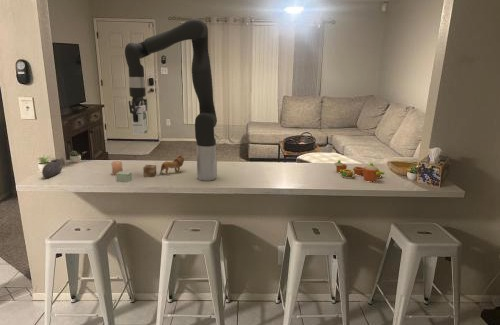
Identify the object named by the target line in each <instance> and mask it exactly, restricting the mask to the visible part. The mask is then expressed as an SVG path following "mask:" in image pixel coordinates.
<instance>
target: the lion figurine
mask: <svg viewBox="0 0 500 325" xmlns="http://www.w3.org/2000/svg"><path fill="white" fill-rule="evenodd" d="M184 162H185V157H184V155H181V154H179V155H177V156H176V157H175V159H174V160H173V161H169V160H168V161H164V162H162V164H161V166H160V172H159V175H163V174H164V173H163V172H164V170H165V173H166V175H168V176H169V175H170V173H169V172H168V171H169V169H174V172H175V173H178V174H180V173H181V171H180V168H181V167H182V166H183V164H184Z"/></svg>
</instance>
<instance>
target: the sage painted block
mask: <svg viewBox="0 0 500 325" xmlns="http://www.w3.org/2000/svg"><path fill="white" fill-rule="evenodd" d="M115 177H116V179H115V180H116V182H122V183H129V182H131V181H132V180H133V172H132V171H124V170H123V171H120V172H118V173H116V175H115Z"/></svg>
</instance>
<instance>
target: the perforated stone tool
mask: <svg viewBox="0 0 500 325" xmlns="http://www.w3.org/2000/svg"><path fill="white" fill-rule="evenodd" d="M62 169H63V165H62V163H61V159H60V158H55V159H54V160H53V159H52V160H51V161H49V162H48V163H46V164H45V165H44V166H43V168H42V172H41V174H42V176H43V177H44V178H46V179H47V178H48V179H49V178H51V177H54V176H57V175H58V174H59V173H60V172H62Z"/></svg>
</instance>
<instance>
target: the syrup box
mask: <svg viewBox="0 0 500 325" xmlns="http://www.w3.org/2000/svg"><path fill="white" fill-rule="evenodd" d="M137 107H138V106H135V108H137ZM132 110H133V109H132ZM130 116H131V118H130V119H131V128H132V135H134V136H145V135H146V134H148V124H147V111H146V106H145V105H140V106H139V110H138V122H134V121H133V114H132V113H130Z"/></svg>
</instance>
